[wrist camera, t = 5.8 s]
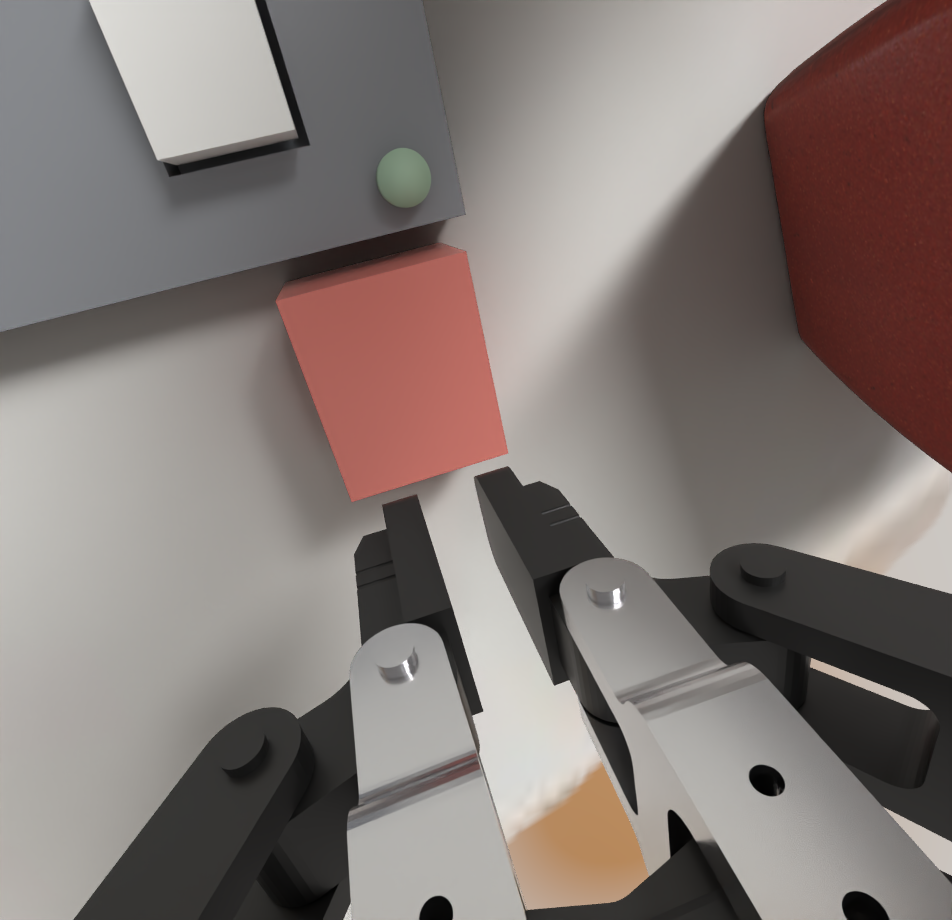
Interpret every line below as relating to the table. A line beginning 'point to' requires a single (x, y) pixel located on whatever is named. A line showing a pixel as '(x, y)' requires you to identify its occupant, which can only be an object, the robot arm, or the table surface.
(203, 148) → the block
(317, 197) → the breaker panel
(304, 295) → the cap
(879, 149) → the plant pot
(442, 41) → the table surface
